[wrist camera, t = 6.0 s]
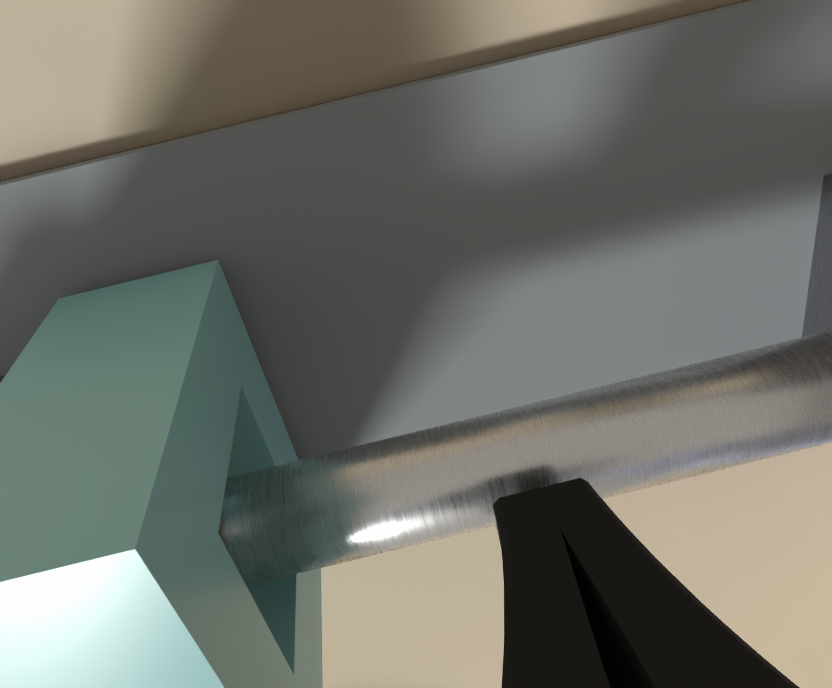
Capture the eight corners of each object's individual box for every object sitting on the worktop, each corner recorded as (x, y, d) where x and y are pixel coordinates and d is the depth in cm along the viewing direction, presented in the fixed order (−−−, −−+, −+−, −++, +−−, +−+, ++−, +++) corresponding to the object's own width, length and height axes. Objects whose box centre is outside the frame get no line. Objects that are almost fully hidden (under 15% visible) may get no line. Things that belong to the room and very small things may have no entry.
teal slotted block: (218, 259, 12) (135, 549, 6) (320, 513, 16) (324, 842, 10) (58, 298, 12) (-166, 621, 6) (197, 543, 16) (131, 890, 10)
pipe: (890, 152, 14) (1155, 252, 9) (859, 318, 16) (1063, 461, 11) (-51, 381, 13) (-219, 588, 9) (47, 516, 16) (-52, 735, 11)
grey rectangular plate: (954, -50, 12) (969, -49, 11) (856, 425, 18) (864, 432, 17) (-194, 228, 12) (-206, 234, 11) (94, 611, 17) (91, 622, 17)
